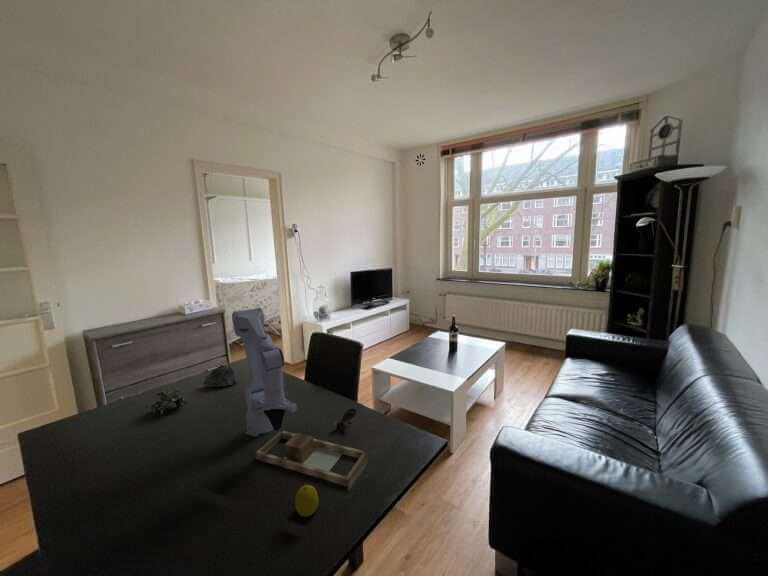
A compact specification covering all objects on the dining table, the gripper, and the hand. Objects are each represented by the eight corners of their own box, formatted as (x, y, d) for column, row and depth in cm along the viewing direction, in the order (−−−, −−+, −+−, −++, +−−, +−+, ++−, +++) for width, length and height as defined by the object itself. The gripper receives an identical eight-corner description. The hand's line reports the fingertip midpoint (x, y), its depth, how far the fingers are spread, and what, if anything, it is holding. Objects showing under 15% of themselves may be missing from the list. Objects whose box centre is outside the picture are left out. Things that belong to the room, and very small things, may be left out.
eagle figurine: (357, 433, 110) (361, 414, 118) (345, 419, 108) (349, 401, 117) (340, 442, 112) (345, 423, 120) (327, 428, 110) (333, 410, 118)
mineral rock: (202, 388, 150) (199, 367, 148) (221, 378, 159) (218, 359, 158) (223, 391, 145) (221, 370, 143) (241, 381, 155) (239, 361, 153)
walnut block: (286, 459, 98) (284, 444, 97) (298, 447, 103) (297, 432, 102) (302, 464, 95) (301, 448, 94) (314, 451, 101) (313, 436, 100)
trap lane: (256, 463, 99) (255, 452, 98) (282, 439, 109) (281, 430, 109) (348, 491, 86) (348, 480, 86) (367, 462, 97) (367, 451, 97)
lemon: (298, 506, 82) (296, 479, 81) (320, 504, 83) (318, 477, 81) (294, 526, 77) (291, 496, 75) (317, 523, 77) (315, 494, 76)
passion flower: (180, 419, 134) (194, 396, 133) (156, 429, 123) (171, 405, 122) (162, 401, 136) (176, 379, 135) (137, 410, 126) (152, 386, 124)
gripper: (245, 390, 98) (250, 431, 100) (284, 398, 92) (288, 441, 95) (262, 380, 104) (266, 419, 107) (299, 387, 99) (302, 427, 101)
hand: (277, 428), depth 101 cm, fingers closed
